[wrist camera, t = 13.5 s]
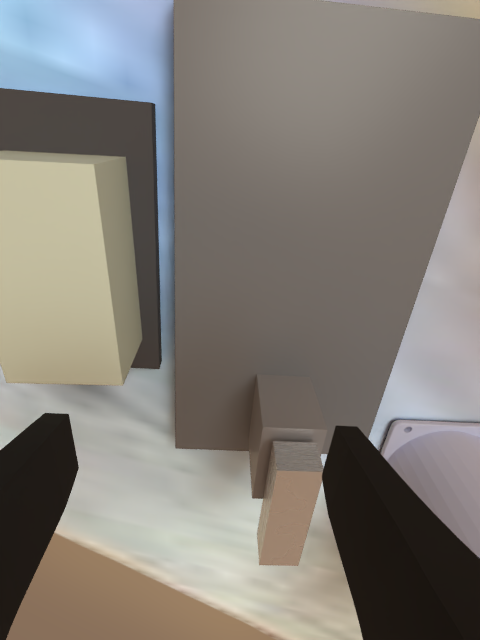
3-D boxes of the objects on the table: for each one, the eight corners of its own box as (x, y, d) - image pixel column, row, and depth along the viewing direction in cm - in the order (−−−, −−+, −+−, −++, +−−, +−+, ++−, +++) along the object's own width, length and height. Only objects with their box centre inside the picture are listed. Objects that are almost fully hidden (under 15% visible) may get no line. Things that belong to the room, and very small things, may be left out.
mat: (155, 104, 15) (151, 102, 14) (161, 361, 21) (159, 369, 20) (-45, 84, 14) (-59, 82, 14) (21, 353, 20) (13, 361, 20)
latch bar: (316, 442, 16) (324, 472, 15) (293, 534, 20) (297, 565, 18) (272, 440, 16) (277, 470, 15) (256, 533, 19) (259, 564, 18)
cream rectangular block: (125, 156, 15) (93, 164, 11) (142, 338, 19) (122, 385, 16) (4, 150, 15) (-67, 156, 11) (48, 336, 19) (6, 383, 15)
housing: (484, 33, 14) (620, -20, 9) (354, 437, 24) (386, 514, 19) (179, -2, 13) (150, -80, 8) (178, 430, 23) (165, 507, 19)
